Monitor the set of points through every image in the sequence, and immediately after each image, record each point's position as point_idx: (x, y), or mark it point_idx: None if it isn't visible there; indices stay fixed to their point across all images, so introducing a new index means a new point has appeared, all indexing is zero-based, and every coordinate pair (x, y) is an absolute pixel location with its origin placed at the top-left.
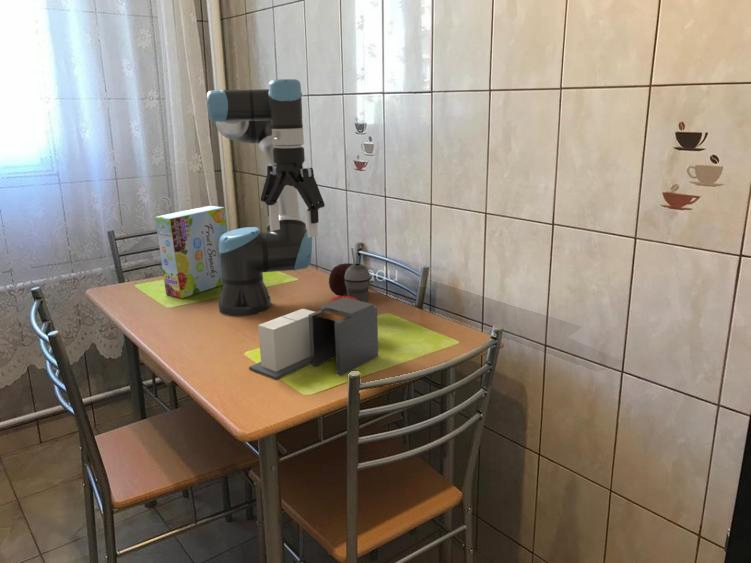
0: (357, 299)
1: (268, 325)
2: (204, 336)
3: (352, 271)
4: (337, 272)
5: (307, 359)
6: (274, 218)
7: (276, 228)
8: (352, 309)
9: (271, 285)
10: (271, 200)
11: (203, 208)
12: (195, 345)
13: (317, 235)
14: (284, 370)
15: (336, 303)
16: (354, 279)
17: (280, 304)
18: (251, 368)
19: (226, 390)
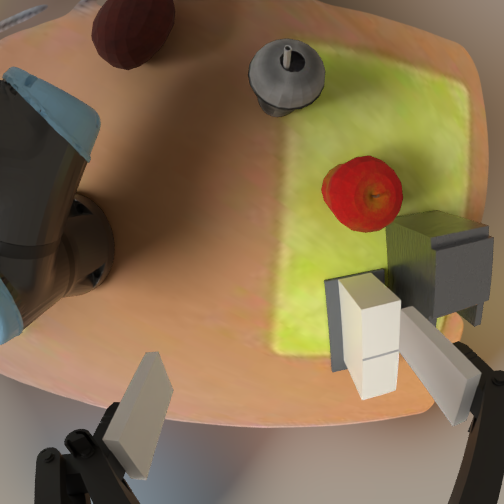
0: (383, 165)
1: (377, 389)
2: (166, 361)
3: (304, 92)
4: (129, 45)
5: None
6: (153, 411)
7: (162, 372)
8: (482, 285)
9: None
10: (133, 495)
11: None
12: (194, 384)
13: (411, 306)
14: None
15: (447, 288)
16: (312, 100)
17: (92, 178)
18: (337, 370)
19: (357, 404)
